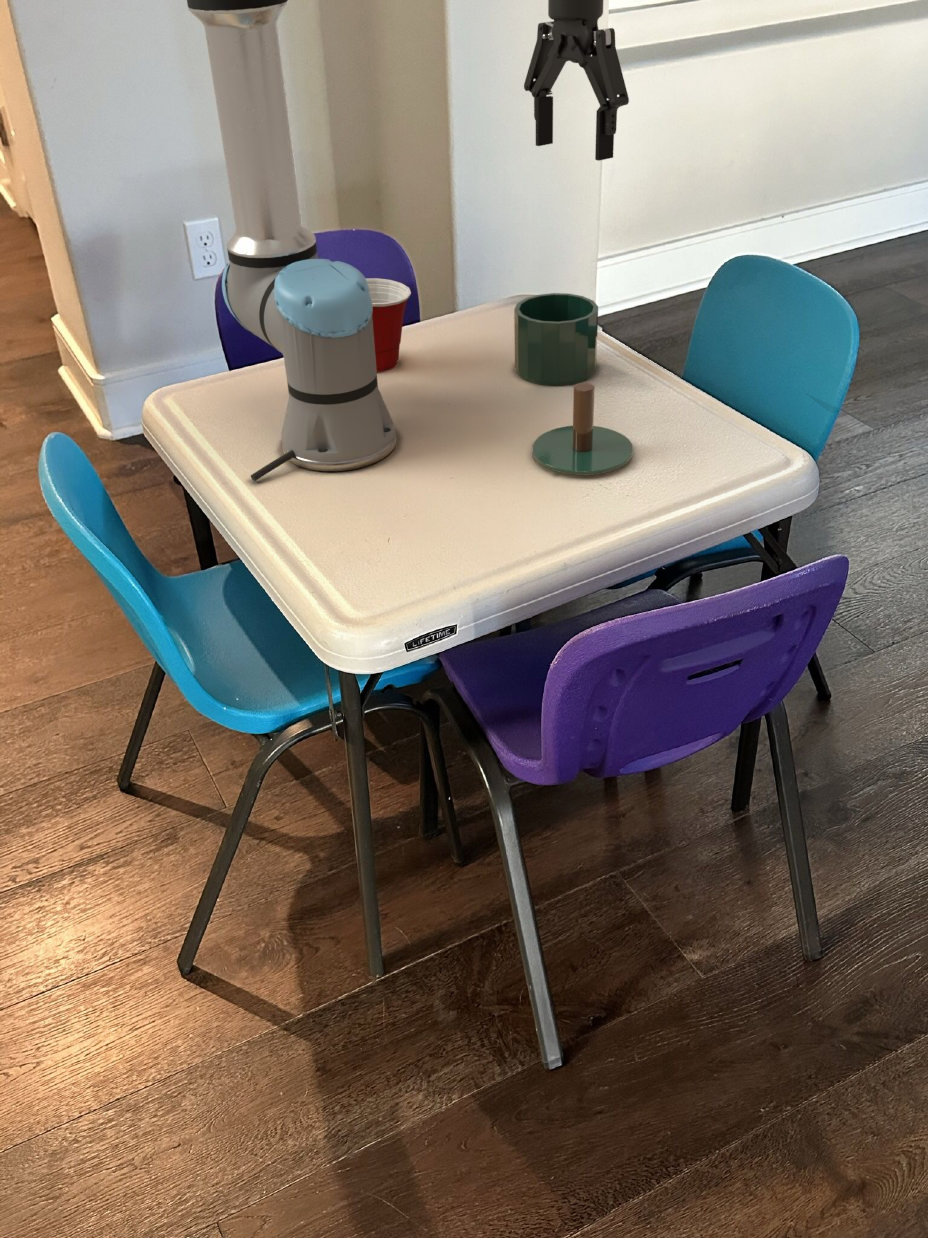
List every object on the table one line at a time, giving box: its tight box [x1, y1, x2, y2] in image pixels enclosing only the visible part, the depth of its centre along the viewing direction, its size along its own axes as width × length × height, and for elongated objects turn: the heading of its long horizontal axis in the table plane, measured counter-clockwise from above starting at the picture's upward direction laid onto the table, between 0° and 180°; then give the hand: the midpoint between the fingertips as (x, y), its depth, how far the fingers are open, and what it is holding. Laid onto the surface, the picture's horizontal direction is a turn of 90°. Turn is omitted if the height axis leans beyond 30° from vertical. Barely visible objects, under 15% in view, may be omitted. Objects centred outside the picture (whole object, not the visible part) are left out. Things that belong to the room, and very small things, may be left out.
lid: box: [531, 382, 634, 476], centre depth 144 cm, size 13×13×10 cm
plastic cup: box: [365, 277, 412, 373], centre depth 170 cm, size 11×11×12 cm
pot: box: [513, 292, 599, 387], centre depth 167 cm, size 12×12×10 cm
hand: (573, 151), depth 165 cm, fingers open, 13 cm apart
